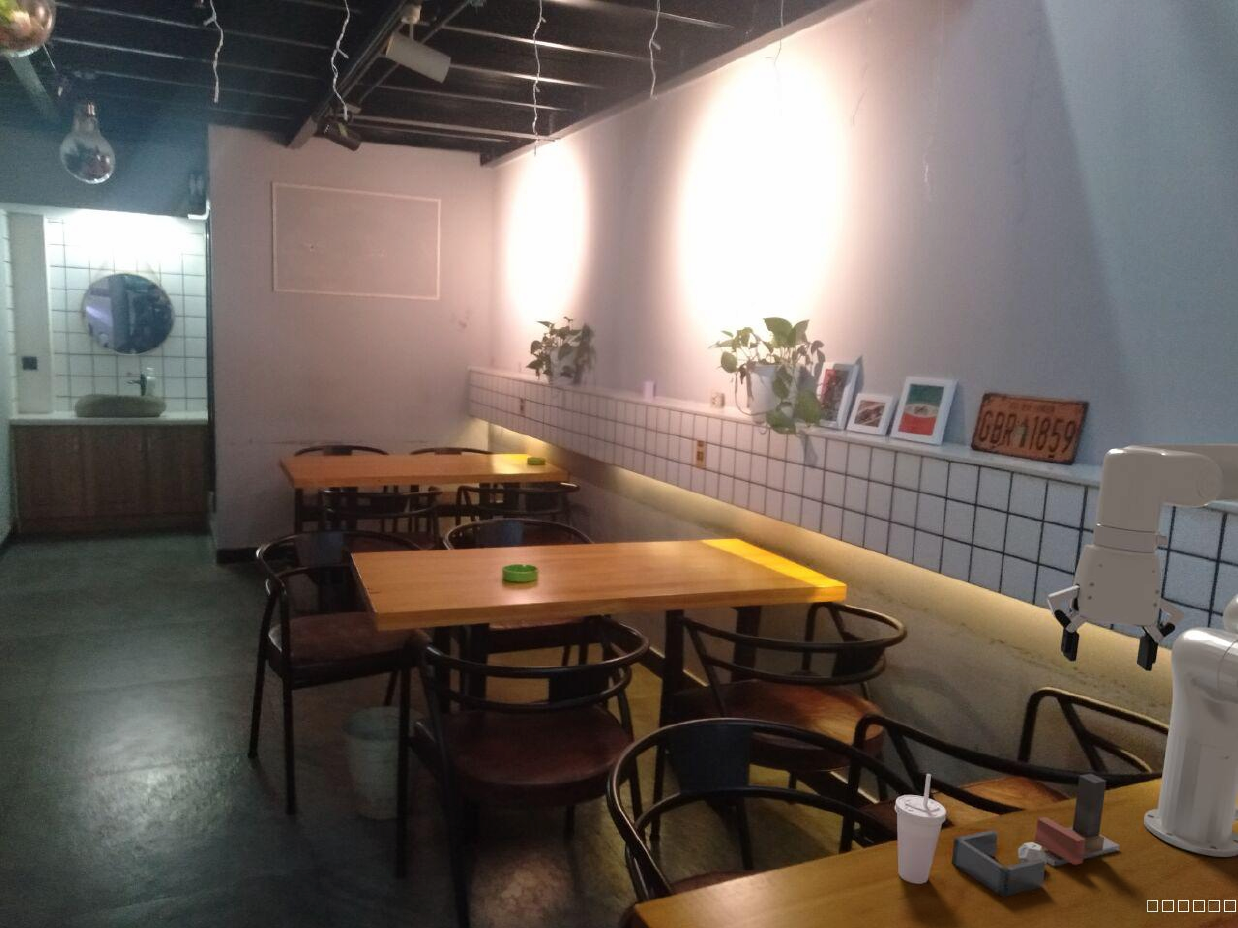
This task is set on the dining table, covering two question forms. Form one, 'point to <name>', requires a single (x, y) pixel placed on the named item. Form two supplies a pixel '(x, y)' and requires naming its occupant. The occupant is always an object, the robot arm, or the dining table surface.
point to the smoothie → (917, 834)
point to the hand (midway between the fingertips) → (1106, 663)
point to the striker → (1077, 824)
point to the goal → (995, 865)
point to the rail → (1107, 848)
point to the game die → (1031, 852)
